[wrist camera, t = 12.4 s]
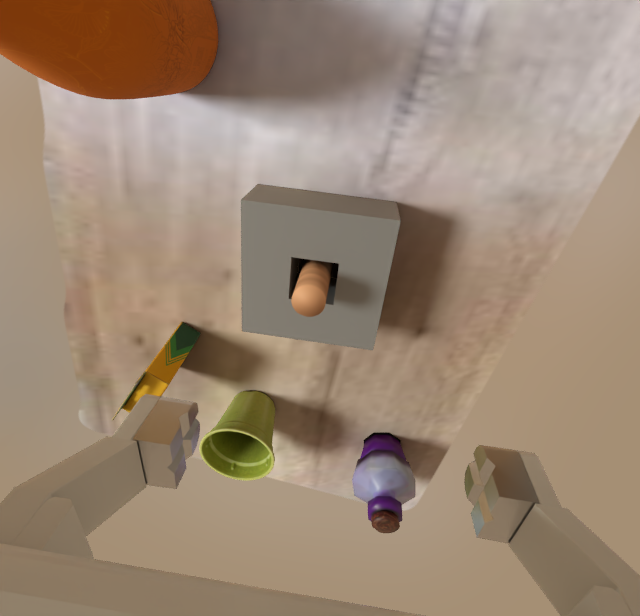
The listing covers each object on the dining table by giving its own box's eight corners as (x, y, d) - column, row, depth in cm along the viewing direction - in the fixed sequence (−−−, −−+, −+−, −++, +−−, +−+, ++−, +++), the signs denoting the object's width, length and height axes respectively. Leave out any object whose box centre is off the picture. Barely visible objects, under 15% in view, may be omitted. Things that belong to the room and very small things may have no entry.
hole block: (257, 184, 39) (241, 199, 34) (396, 202, 38) (400, 220, 33) (255, 303, 46) (241, 331, 41) (372, 319, 45) (373, 350, 40)
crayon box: (178, 367, 53) (134, 433, 43) (159, 355, 52) (109, 420, 42) (202, 333, 49) (161, 397, 39) (182, 320, 48) (134, 382, 39)
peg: (307, 242, 41) (292, 284, 33) (335, 246, 41) (327, 289, 33) (305, 267, 43) (290, 314, 34) (332, 271, 43) (323, 319, 34)
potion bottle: (345, 455, 58) (340, 536, 48) (363, 417, 54) (362, 497, 43) (399, 470, 58) (406, 553, 48) (422, 434, 54) (434, 516, 44)
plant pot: (265, 438, 58) (250, 490, 51) (210, 407, 56) (186, 457, 48) (299, 403, 54) (288, 455, 46) (242, 369, 52) (221, 417, 44)
